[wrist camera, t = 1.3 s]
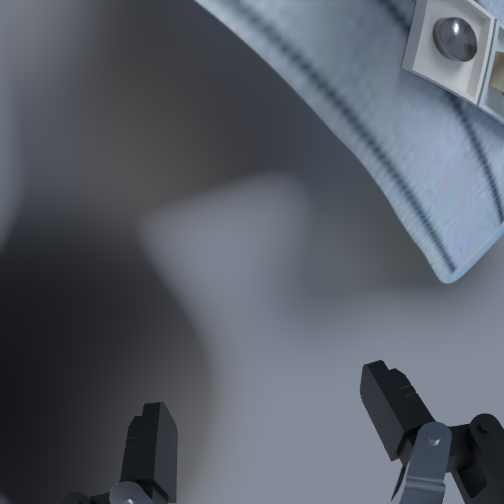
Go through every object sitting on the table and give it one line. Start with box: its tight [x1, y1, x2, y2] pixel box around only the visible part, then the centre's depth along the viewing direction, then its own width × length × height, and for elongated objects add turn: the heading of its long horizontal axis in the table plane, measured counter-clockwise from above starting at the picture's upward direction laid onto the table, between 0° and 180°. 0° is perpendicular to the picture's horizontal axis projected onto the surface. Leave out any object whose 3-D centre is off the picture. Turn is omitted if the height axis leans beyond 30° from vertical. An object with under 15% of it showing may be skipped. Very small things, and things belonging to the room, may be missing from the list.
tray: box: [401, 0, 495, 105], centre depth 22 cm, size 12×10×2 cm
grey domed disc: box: [432, 17, 477, 62], centre depth 21 cm, size 5×5×2 cm
